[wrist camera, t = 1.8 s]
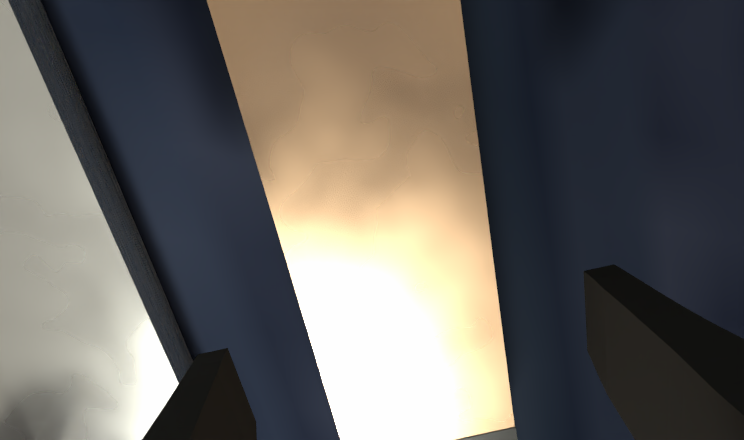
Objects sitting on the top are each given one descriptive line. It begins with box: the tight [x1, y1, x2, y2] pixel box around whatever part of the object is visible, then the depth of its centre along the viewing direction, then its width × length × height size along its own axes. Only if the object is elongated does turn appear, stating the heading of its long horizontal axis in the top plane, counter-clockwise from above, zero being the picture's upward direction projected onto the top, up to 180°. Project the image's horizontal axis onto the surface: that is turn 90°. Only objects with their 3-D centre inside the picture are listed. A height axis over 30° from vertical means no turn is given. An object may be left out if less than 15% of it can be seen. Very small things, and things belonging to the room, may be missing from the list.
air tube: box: [207, 0, 517, 440], centre depth 16 cm, size 18×4×4 cm, turn 11°
